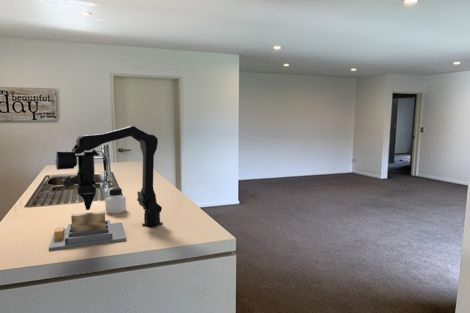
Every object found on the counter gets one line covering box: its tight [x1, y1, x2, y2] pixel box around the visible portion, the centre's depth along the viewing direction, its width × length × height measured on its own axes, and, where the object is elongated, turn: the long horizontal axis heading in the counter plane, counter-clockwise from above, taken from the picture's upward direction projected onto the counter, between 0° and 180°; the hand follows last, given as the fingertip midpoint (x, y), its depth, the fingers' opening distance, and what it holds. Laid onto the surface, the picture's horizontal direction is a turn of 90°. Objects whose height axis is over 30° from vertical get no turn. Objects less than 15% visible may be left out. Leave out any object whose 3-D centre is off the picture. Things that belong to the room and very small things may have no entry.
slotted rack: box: [48, 219, 127, 251], centre depth 133 cm, size 26×22×4 cm
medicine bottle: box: [104, 187, 127, 215], centre depth 169 cm, size 7×7×12 cm
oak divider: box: [70, 210, 106, 233], centre depth 133 cm, size 12×3×8 cm, turn 113°
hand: (88, 207), depth 132 cm, fingers open, 9 cm apart
